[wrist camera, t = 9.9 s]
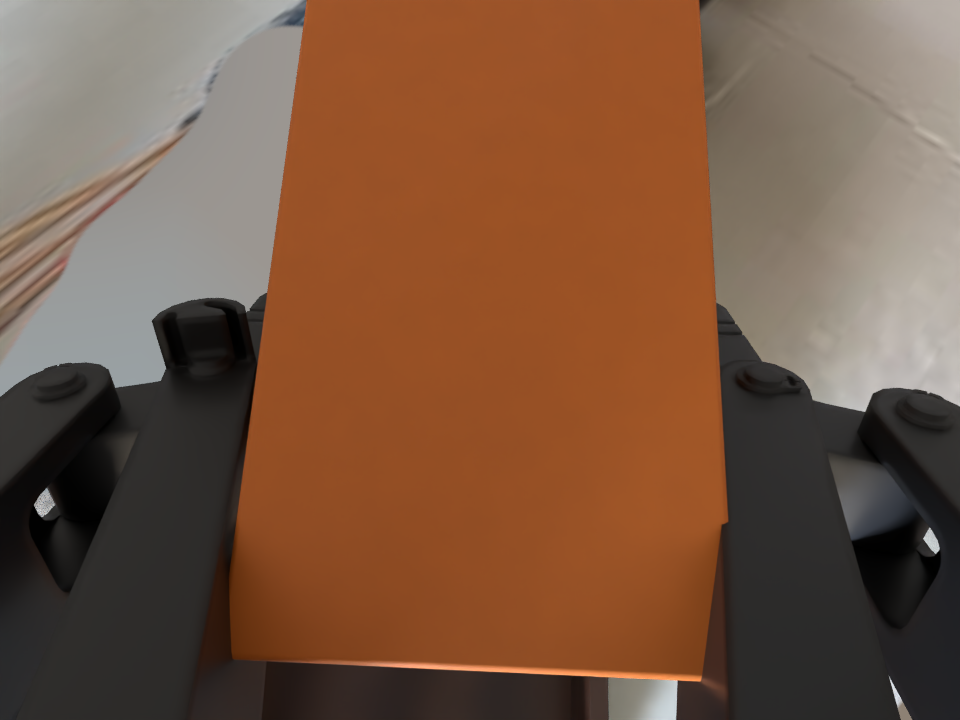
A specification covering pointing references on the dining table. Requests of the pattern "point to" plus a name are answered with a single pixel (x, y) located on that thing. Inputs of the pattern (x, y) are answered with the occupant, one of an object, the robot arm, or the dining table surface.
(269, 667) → the storage box
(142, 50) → the dining table surface
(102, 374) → the robot arm
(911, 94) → the dining table surface
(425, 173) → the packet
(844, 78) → the dining table surface
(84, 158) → the dining table surface
